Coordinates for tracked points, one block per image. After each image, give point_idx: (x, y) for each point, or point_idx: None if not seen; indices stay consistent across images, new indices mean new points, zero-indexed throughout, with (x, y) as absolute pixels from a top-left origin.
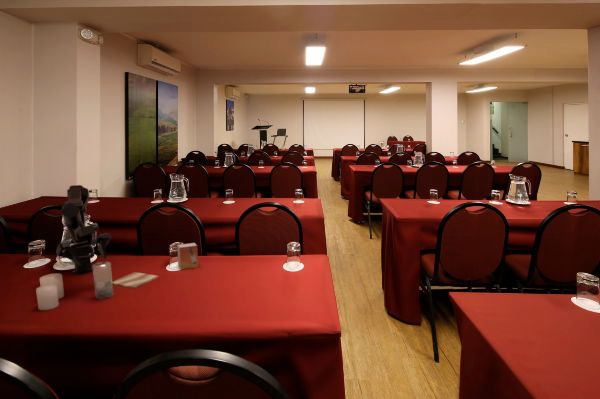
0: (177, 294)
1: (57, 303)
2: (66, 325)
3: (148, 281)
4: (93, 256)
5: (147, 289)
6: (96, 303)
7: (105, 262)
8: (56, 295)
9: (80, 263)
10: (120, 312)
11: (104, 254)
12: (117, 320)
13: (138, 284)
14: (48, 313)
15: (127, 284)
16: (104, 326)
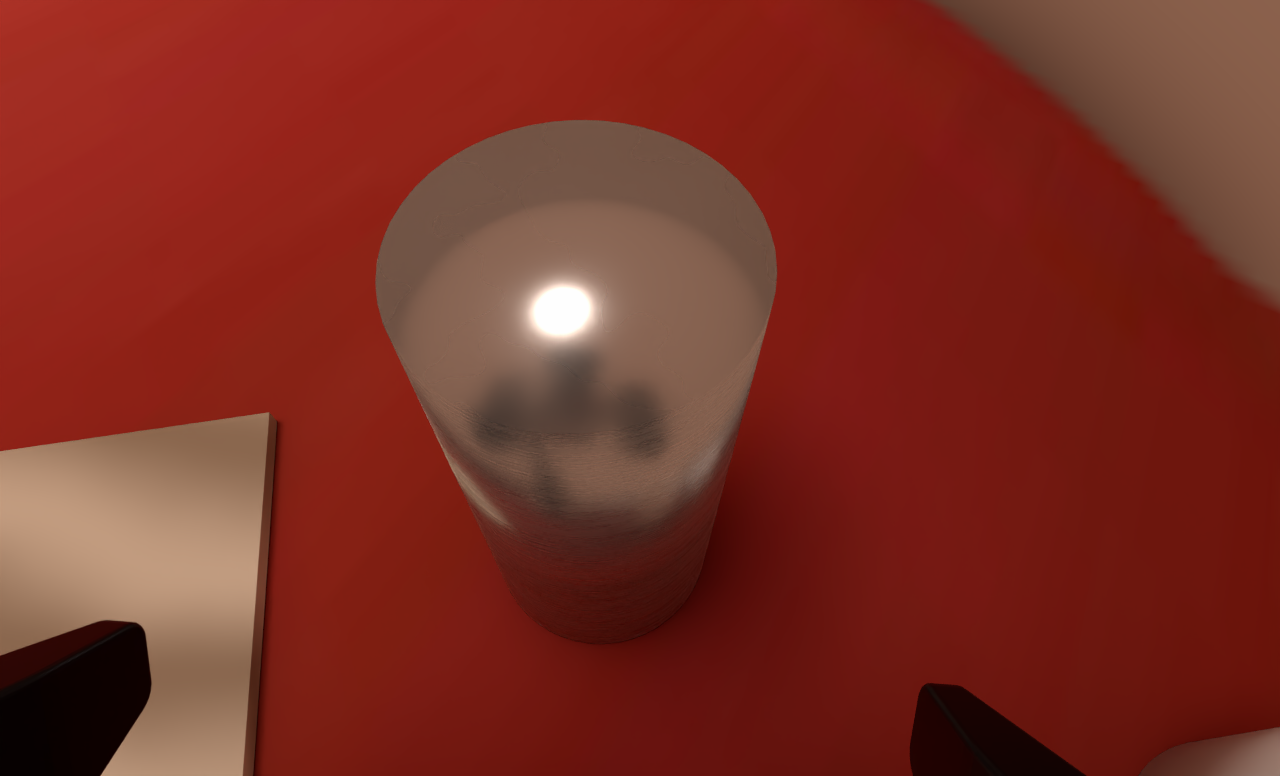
0: (264, 40)
1: (1161, 768)
2: (1143, 241)
3: (26, 453)
4: None
5: (251, 296)
6: (776, 420)
7: (447, 290)
8: (1248, 759)
9: (967, 696)
10: (738, 119)
11: (10, 676)
12: (822, 50)
13: (179, 445)
14: (1267, 625)
15: (223, 568)
16: (925, 48)
